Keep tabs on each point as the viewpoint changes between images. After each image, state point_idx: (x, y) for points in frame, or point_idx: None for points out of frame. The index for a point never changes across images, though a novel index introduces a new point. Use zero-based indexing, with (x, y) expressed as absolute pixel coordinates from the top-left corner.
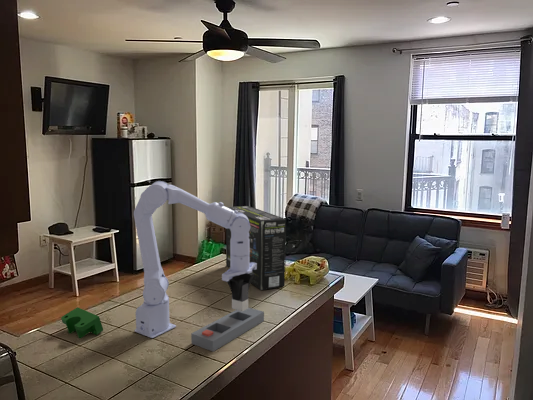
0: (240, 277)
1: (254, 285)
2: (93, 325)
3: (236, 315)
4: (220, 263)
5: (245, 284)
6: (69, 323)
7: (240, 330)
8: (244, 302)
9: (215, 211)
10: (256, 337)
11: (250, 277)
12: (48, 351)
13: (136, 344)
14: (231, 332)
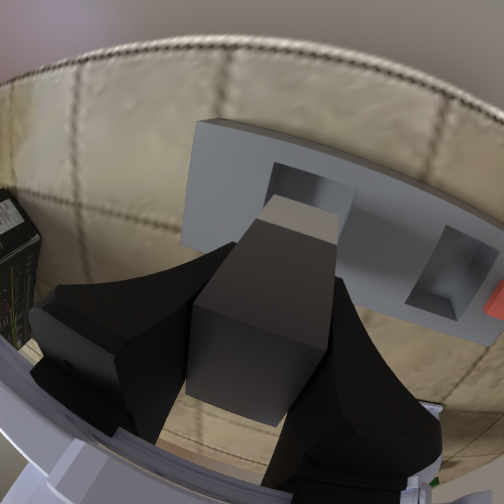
0: (164, 404)
1: (36, 263)
2: None
3: None
4: (33, 347)
5: (254, 324)
6: None
7: (407, 179)
8: (309, 229)
9: None
10: (401, 94)
11: (138, 333)
12: (462, 466)
13: (464, 412)
14: (469, 211)
